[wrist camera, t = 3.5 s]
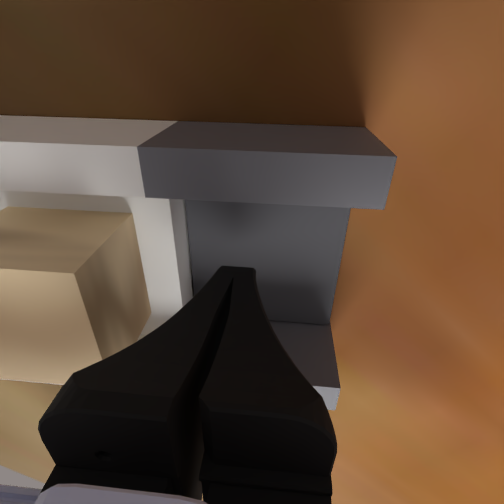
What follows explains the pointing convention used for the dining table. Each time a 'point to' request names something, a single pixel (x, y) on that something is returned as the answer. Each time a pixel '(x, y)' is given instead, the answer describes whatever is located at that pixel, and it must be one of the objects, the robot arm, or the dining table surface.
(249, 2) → the dining table surface
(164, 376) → the robot arm
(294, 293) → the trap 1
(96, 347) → the maple block
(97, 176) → the trap box
